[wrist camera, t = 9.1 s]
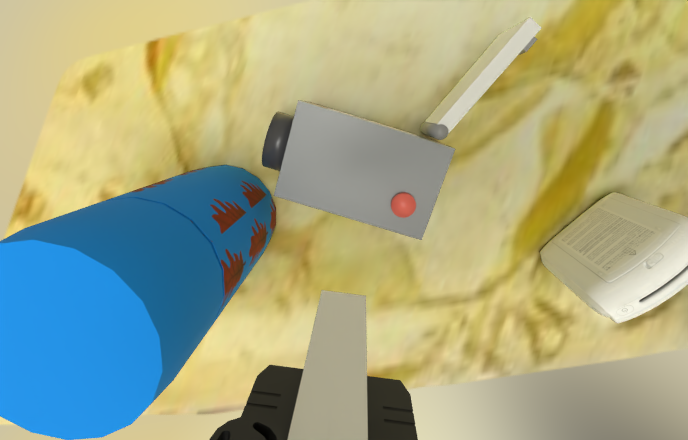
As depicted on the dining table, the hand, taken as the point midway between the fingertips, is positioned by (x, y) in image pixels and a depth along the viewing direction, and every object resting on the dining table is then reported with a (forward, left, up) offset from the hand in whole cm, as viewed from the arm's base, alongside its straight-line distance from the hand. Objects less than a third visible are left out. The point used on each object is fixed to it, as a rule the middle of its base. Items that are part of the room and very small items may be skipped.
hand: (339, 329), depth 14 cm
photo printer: (-24, -2, -29) cm, 37 cm away
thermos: (+12, +7, -29) cm, 32 cm away
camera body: (0, -3, -28) cm, 29 cm away
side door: (-7, -12, -28) cm, 31 cm away
